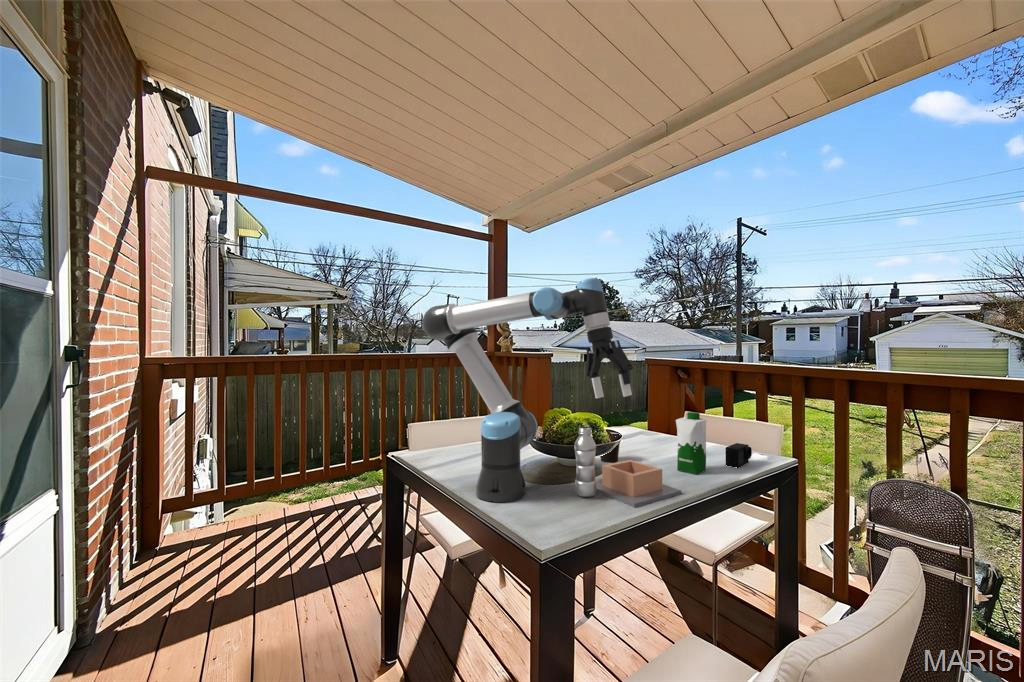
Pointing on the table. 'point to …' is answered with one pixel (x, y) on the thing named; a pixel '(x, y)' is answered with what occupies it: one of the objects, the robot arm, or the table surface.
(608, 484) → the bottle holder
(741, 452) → the digital camera
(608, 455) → the coffee mug
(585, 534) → the table surface
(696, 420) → the milk carton
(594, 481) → the silver bottle
